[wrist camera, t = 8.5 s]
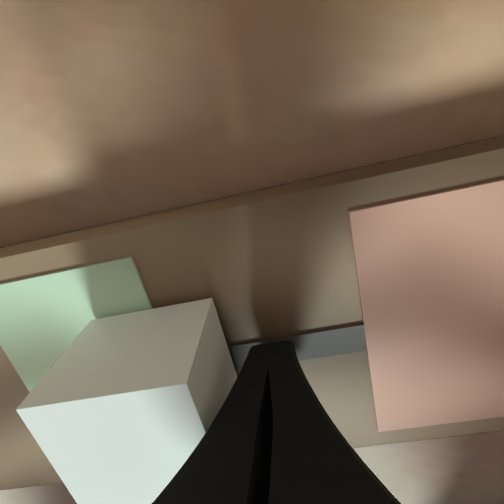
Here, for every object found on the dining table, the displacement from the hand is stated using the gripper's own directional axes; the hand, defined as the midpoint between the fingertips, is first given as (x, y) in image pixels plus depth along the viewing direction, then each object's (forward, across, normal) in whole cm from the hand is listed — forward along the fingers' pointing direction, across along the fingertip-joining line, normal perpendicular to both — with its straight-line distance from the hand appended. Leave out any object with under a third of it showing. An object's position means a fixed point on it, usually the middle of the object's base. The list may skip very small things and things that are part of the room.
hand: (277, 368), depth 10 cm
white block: (+1, +3, 0) cm, 4 cm away
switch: (+2, +2, 0) cm, 3 cm away
